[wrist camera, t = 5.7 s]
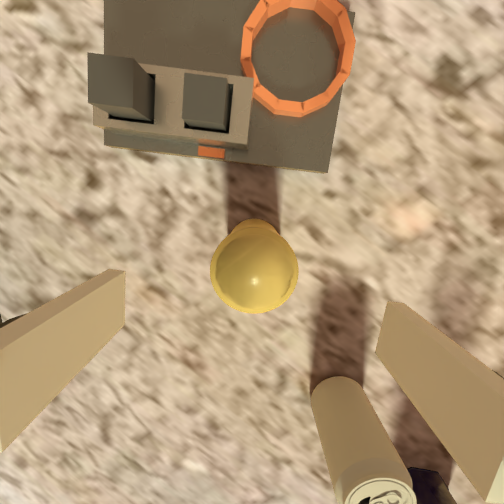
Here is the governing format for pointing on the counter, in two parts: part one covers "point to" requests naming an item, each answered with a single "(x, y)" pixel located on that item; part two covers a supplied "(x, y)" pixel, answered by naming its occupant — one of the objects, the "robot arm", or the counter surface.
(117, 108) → the block
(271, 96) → the orange ring
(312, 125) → the breaker panel
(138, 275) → the counter surface
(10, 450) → the counter surface
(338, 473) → the beverage can
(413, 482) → the bottle
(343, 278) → the counter surface
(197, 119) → the block
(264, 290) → the cap
